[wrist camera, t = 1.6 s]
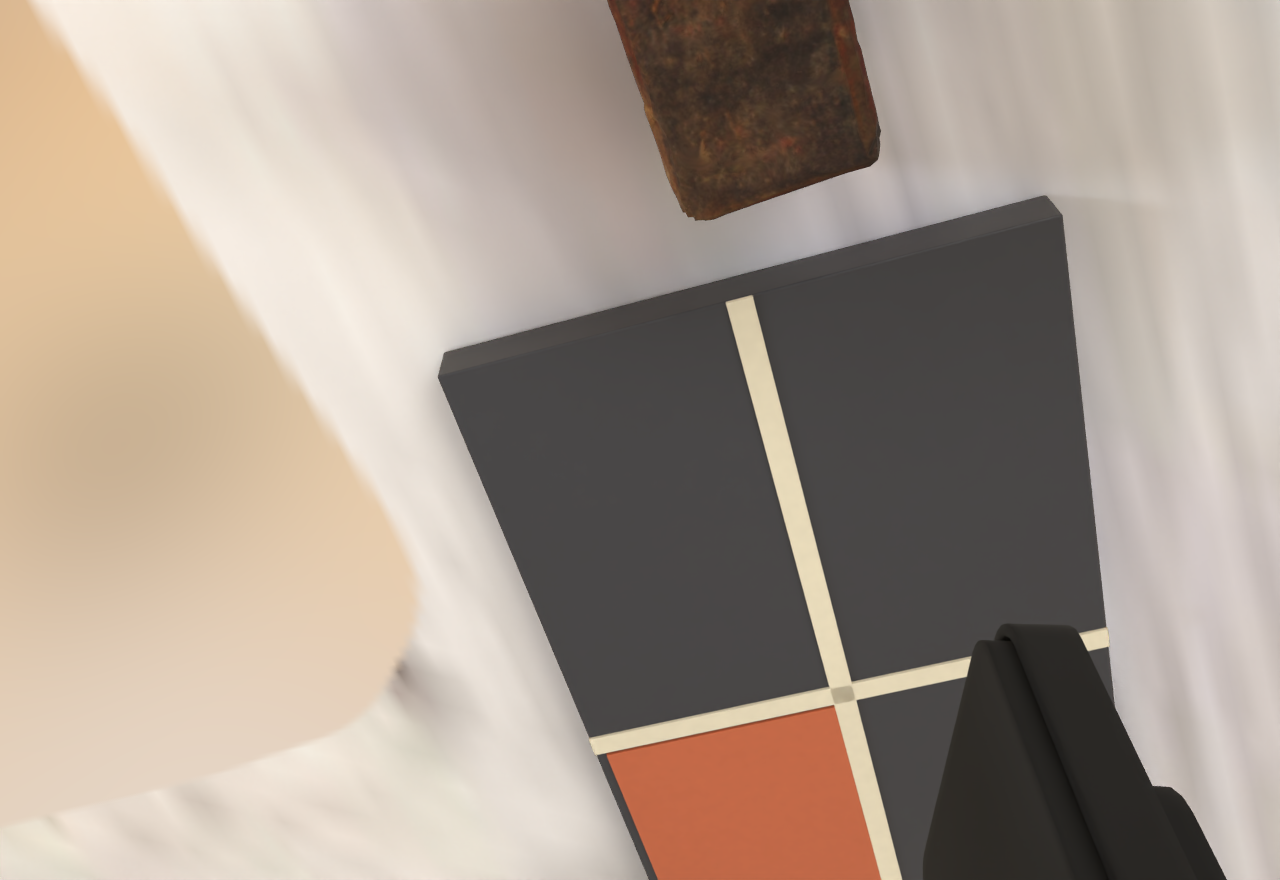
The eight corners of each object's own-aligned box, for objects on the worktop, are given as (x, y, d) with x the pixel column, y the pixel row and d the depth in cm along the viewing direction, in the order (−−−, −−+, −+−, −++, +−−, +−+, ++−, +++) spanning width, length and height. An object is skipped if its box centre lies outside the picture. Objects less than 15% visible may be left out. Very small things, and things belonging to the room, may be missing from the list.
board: (1046, 194, 27) (1064, 215, 26) (1124, 889, 39) (1139, 924, 38) (443, 352, 29) (436, 378, 27) (697, 968, 41) (699, 1004, 40)
